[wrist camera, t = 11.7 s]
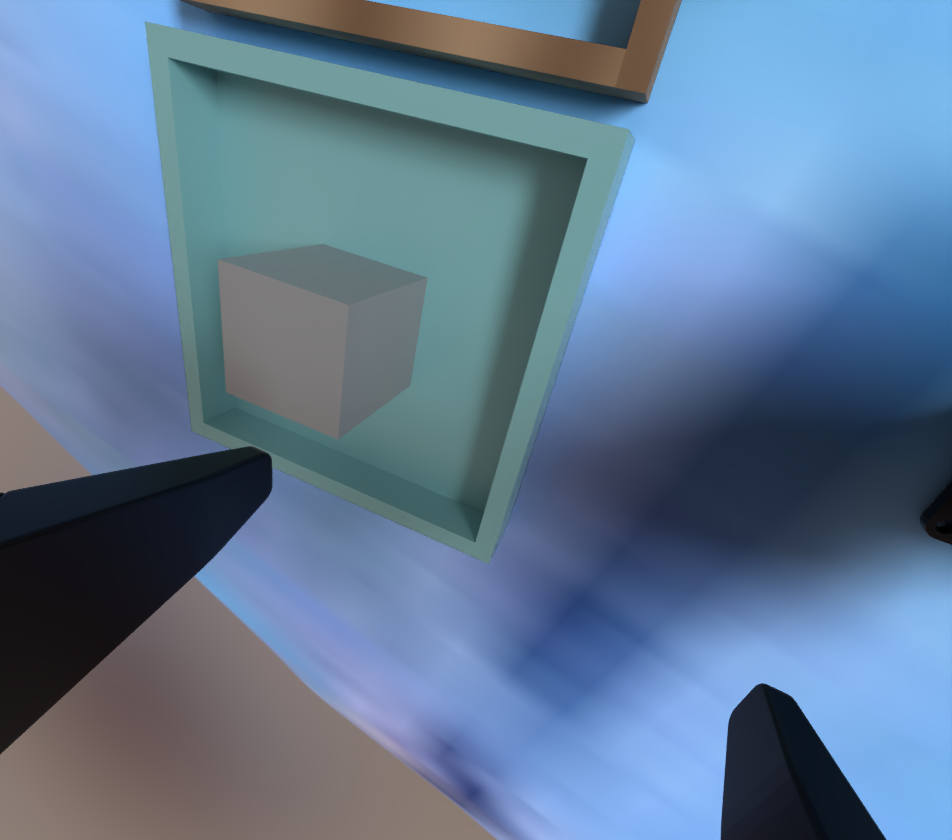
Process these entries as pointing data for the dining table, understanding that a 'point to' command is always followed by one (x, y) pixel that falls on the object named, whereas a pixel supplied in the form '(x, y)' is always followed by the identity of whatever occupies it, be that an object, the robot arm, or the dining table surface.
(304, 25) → the corral
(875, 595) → the dining table surface
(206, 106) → the bin
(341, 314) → the slate block
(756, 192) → the dining table surface
